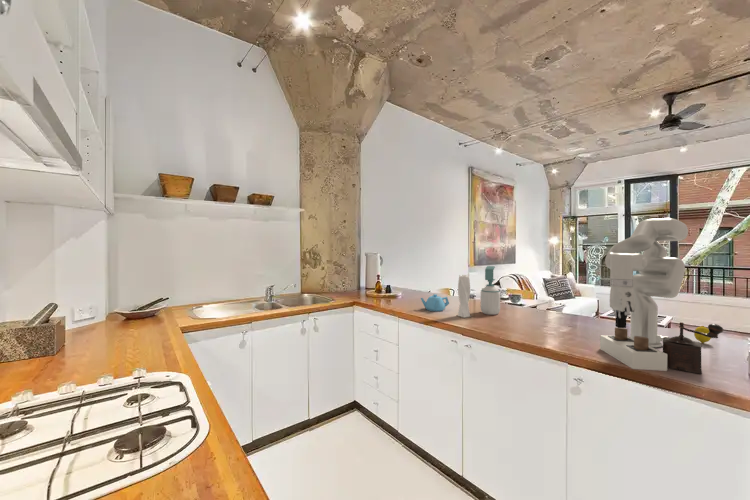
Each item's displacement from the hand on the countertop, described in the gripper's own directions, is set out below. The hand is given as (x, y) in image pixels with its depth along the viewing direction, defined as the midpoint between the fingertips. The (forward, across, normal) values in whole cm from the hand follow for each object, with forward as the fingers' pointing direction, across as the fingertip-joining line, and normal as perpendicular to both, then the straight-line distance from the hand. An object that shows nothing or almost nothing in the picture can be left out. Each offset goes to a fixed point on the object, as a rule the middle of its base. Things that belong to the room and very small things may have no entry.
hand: (620, 327), depth 134 cm
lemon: (+11, +22, -45) cm, 51 cm away
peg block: (+11, -6, 0) cm, 13 cm away
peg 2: (+7, -13, 0) cm, 15 cm away
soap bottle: (+11, +74, +39) cm, 84 cm away
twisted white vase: (+11, +61, +57) cm, 84 cm away
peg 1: (+7, 0, 0) cm, 7 cm away
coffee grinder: (+11, -14, -16) cm, 24 cm away
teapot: (+11, +81, +75) cm, 111 cm away
